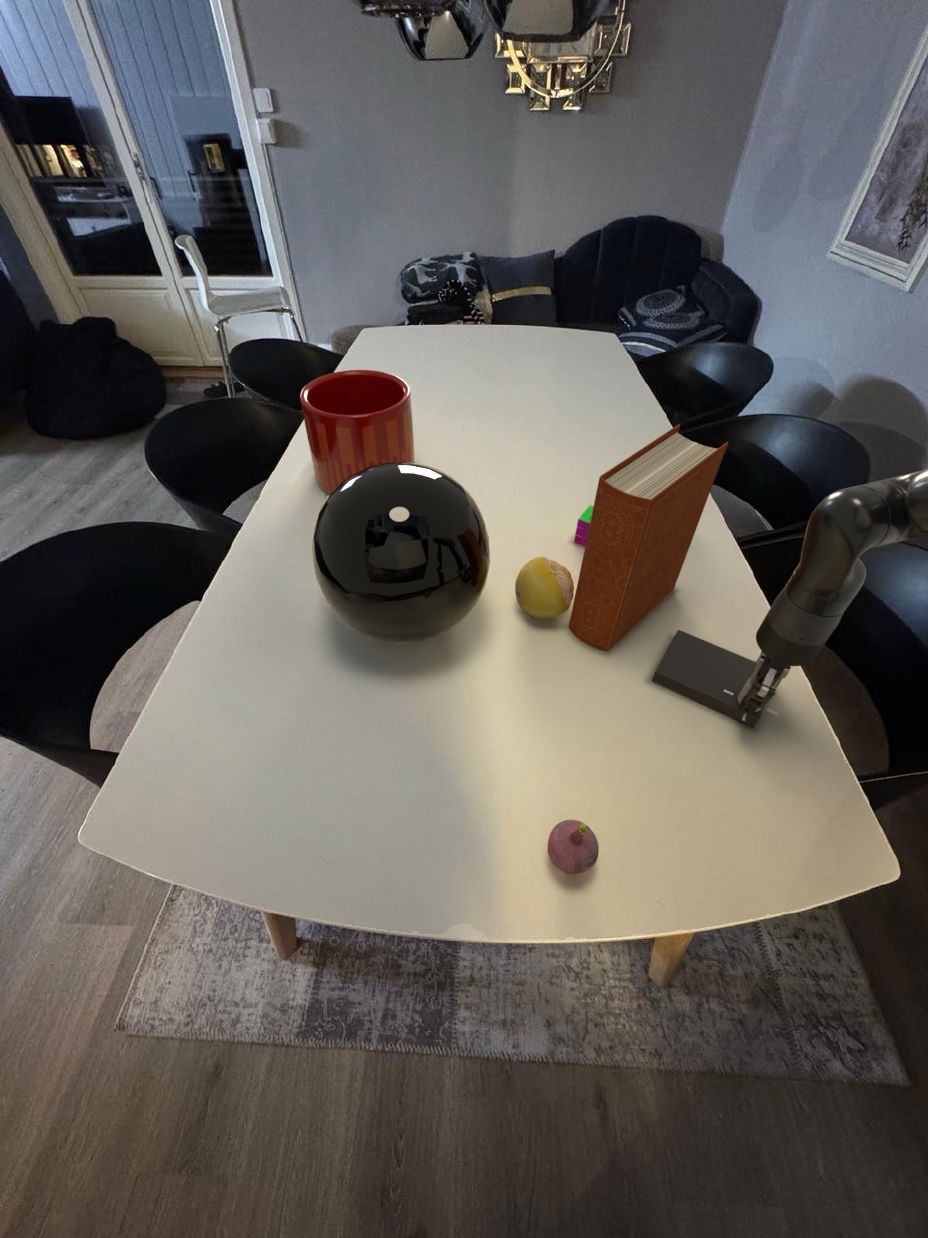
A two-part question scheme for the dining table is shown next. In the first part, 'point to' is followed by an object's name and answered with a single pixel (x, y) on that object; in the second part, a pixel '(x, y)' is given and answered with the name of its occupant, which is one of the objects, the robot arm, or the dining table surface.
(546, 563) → the fruit
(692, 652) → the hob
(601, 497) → the book
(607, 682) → the dining table surface
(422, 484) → the ball
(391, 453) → the planter
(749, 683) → the burner knob
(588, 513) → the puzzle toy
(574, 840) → the vegetable
